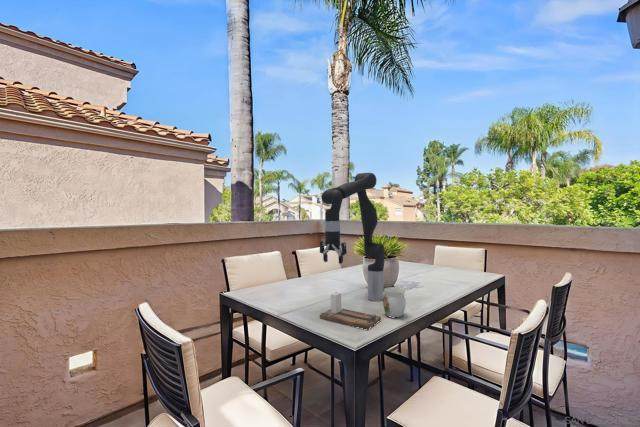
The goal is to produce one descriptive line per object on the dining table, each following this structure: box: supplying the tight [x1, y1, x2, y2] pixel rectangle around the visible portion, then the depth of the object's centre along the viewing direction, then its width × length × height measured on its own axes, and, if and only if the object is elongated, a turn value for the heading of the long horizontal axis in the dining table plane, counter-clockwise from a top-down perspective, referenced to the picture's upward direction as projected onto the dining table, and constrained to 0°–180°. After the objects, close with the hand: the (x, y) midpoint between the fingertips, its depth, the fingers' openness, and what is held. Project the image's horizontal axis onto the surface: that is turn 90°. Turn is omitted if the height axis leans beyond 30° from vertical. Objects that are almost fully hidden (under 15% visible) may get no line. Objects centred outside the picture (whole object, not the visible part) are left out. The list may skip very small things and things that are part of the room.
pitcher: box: [382, 286, 406, 318], centre depth 157 cm, size 11×18×14 cm, turn 15°
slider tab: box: [330, 292, 342, 314], centre depth 156 cm, size 5×3×9 cm, turn 145°
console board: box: [319, 307, 382, 330], centre depth 151 cm, size 14×26×4 cm, turn 55°
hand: (333, 262), depth 154 cm, fingers open, 8 cm apart
